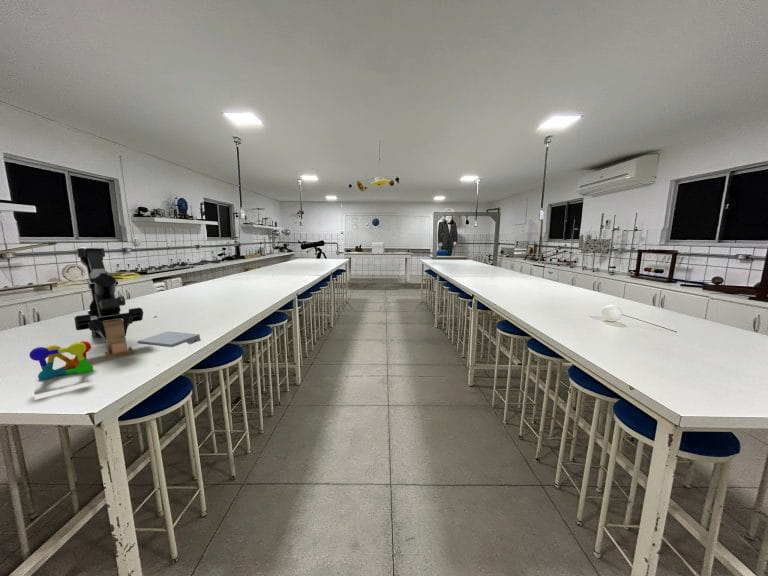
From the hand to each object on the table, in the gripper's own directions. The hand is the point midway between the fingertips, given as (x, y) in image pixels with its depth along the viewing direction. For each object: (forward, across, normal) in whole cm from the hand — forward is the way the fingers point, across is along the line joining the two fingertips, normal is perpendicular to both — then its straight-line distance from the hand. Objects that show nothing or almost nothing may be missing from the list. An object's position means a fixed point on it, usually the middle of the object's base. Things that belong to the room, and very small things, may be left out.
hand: (115, 337), depth 110 cm
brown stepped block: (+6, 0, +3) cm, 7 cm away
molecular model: (+13, -14, -3) cm, 19 cm away
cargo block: (+7, 0, +1) cm, 7 cm away
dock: (+3, +17, +6) cm, 18 cm away
